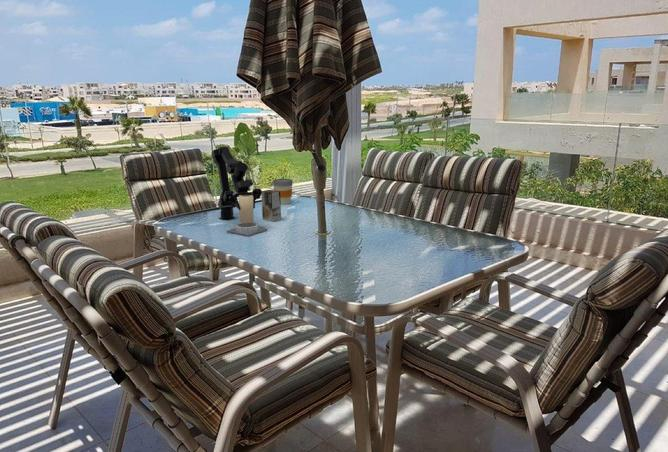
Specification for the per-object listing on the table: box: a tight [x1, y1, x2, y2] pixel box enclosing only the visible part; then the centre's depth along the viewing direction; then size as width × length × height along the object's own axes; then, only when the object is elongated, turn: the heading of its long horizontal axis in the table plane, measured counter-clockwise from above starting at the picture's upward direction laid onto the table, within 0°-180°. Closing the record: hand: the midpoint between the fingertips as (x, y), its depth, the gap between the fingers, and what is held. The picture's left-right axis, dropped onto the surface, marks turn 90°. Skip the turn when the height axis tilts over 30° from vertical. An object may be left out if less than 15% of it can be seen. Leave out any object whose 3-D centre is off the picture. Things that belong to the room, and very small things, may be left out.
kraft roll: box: [238, 195, 255, 223], centre depth 249 cm, size 7×7×13 cm
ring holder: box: [226, 222, 268, 238], centre depth 251 cm, size 14×14×4 cm
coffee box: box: [261, 189, 282, 223], centre depth 275 cm, size 9×6×16 cm
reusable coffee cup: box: [272, 178, 293, 206], centre depth 318 cm, size 13×12×15 cm
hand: (247, 208), depth 248 cm, fingers closed on kraft roll, 7 cm apart
